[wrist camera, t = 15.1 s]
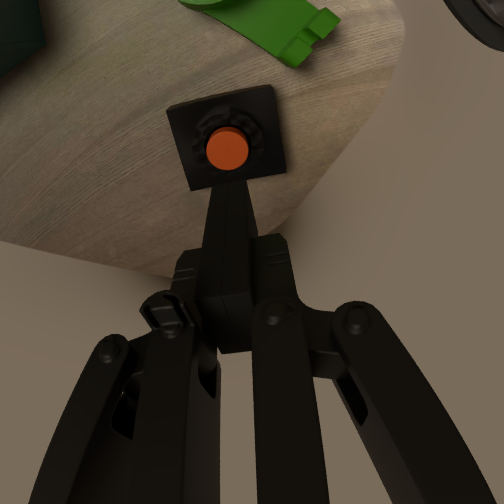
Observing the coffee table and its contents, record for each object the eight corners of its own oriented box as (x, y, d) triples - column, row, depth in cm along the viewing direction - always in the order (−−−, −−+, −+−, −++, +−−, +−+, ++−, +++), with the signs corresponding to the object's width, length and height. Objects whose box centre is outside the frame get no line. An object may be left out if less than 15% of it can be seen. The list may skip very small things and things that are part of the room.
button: (243, 122, 24) (243, 127, 23) (251, 159, 26) (252, 165, 25) (203, 131, 24) (201, 136, 23) (213, 166, 27) (211, 174, 25)
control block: (270, 84, 25) (274, 88, 22) (283, 164, 31) (289, 180, 28) (170, 106, 26) (161, 114, 23) (193, 182, 31) (188, 199, 28)
